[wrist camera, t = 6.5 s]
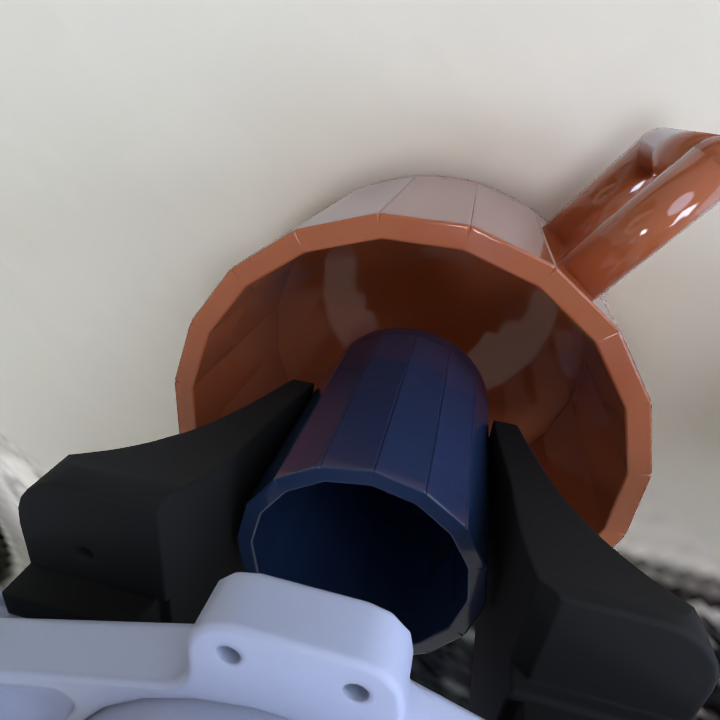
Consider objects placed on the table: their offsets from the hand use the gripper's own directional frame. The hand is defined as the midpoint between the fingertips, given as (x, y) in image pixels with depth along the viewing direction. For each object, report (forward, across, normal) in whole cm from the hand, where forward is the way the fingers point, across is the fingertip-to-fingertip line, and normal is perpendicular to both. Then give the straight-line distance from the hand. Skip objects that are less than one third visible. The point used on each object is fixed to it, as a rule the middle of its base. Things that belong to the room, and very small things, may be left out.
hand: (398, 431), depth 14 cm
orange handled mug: (+6, -1, -2) cm, 6 cm away
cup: (+2, 0, 0) cm, 2 cm away
